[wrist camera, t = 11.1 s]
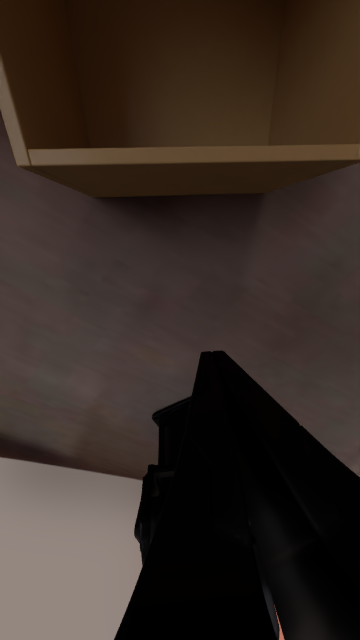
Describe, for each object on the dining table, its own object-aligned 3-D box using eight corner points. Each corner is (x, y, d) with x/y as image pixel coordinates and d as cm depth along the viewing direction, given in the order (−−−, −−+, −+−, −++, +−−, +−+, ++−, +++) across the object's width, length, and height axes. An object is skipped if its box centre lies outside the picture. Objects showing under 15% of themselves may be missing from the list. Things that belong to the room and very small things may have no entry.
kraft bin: (54, -21, 11) (-233, -668, 3) (291, -14, 12) (563, -526, 4) (93, 197, 15) (16, 166, 7) (265, 193, 16) (368, 160, 8)
